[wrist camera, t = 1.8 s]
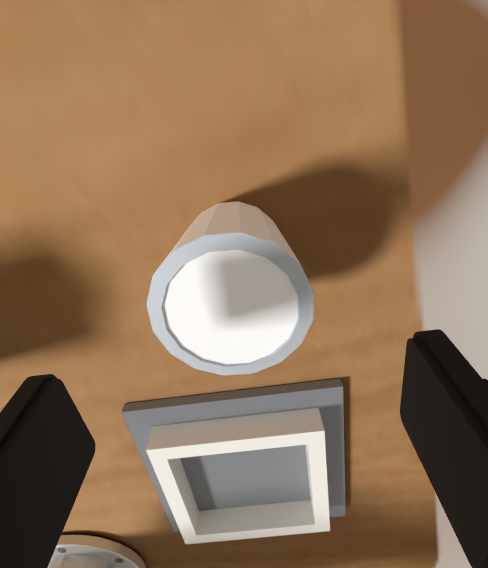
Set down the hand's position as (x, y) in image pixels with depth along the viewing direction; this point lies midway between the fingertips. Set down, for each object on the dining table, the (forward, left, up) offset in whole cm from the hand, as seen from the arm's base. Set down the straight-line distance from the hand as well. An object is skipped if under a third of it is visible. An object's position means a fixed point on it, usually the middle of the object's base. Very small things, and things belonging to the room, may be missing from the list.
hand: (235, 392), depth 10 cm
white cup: (-1, 0, -12) cm, 12 cm away
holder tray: (-20, +2, -12) cm, 23 cm away
